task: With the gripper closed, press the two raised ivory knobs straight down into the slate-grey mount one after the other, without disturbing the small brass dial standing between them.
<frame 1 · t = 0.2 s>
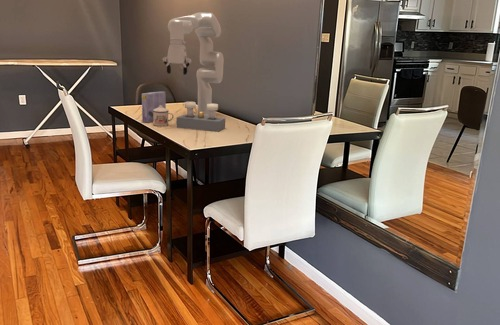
hand: (177, 73, 262), 31 cm above the table, tool pointing down, fingers open, 9 cm apart
brass dial: (201, 117, 270), point 6 cm above the table, touching mount
ivory knob 1: (212, 112, 267), point 10 cm above the table, slide at 0.0 cm
ivory knob 2: (190, 109, 271), point 10 cm above the table, slide at 0.0 cm
cake pan box: (154, 120, 287), on the table
teacup with lid: (163, 125, 275), on the table
mount: (201, 127, 272), on the table
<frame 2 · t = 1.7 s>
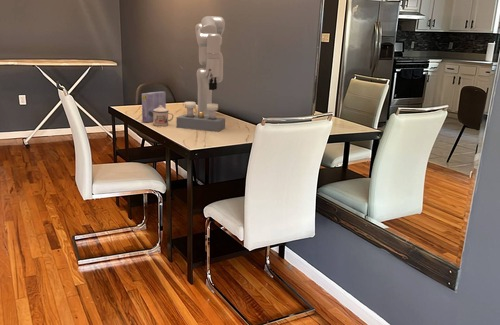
hand: (212, 89, 264), 23 cm above the table, tool pointing down, fingers closed
nothing on the table moved.
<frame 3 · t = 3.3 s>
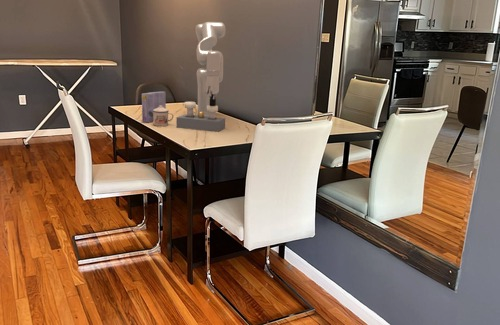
hand: (212, 105, 266), 14 cm above the table, tool pointing down, fingers closed
ivory knob 1: (212, 113, 268), point 9 cm above the table, slide at 0.9 cm, touching gripper
everything else where it was.
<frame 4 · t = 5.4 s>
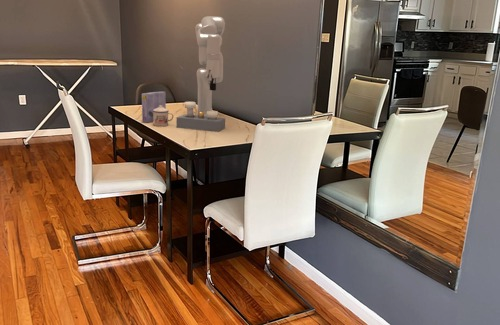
hand: (212, 90, 264), 23 cm above the table, tool pointing down, fingers closed
ivory knob 1: (212, 119, 268), point 6 cm above the table, slide at 4.2 cm
everything else where it was.
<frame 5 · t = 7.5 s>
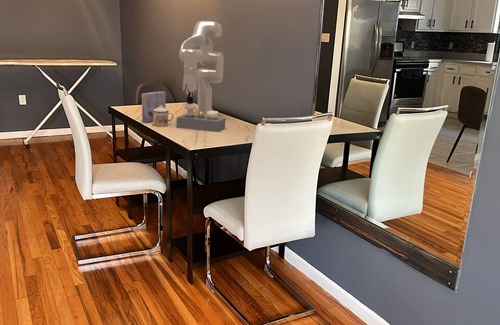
hand: (190, 103, 270), 14 cm above the table, tool pointing down, fingers closed
ivory knob 2: (190, 111, 271), point 9 cm above the table, slide at 0.7 cm, touching gripper
everything else where it was.
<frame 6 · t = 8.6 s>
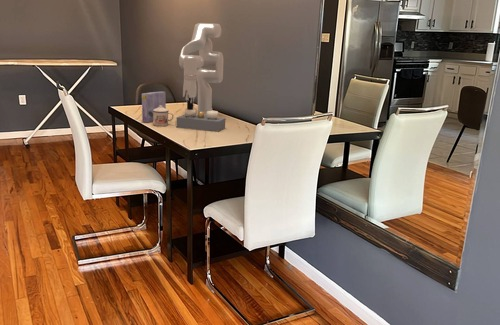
hand: (190, 109, 271), 10 cm above the table, tool pointing down, fingers closed
ivory knob 2: (190, 117, 272), point 6 cm above the table, slide at 4.2 cm, touching gripper
everything else where it was.
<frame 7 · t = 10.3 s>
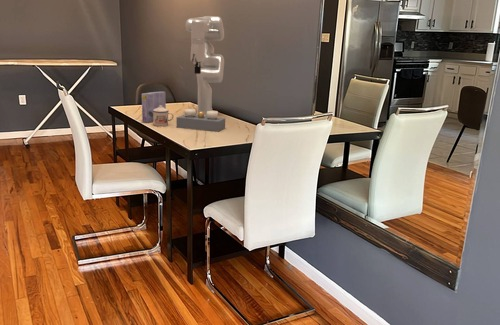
hand: (197, 73, 276), 30 cm above the table, tool pointing down, fingers closed
ivory knob 2: (190, 117, 272), point 6 cm above the table, slide at 4.2 cm
everything else where it was.
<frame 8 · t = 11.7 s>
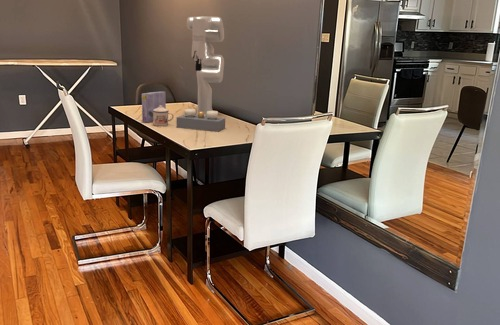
hand: (198, 70, 276), 32 cm above the table, tool pointing down, fingers closed
nothing on the table moved.
at the end: ivory knob 1 slide at 4.2 cm; ivory knob 2 slide at 4.2 cm; brass dial moved 0.1 cm from its start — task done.
